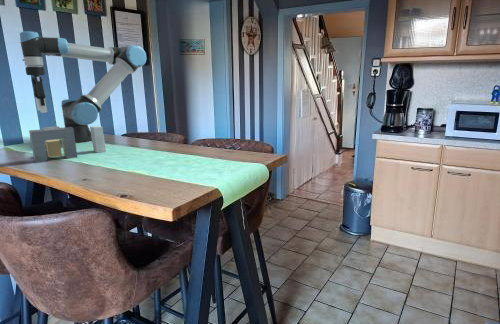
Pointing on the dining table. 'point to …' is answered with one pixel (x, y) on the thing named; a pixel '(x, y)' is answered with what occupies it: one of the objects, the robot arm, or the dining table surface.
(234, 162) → the dining table surface
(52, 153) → the plug
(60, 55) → the robot arm
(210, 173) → the dining table surface
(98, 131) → the skincare box
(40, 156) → the housing
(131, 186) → the dining table surface
